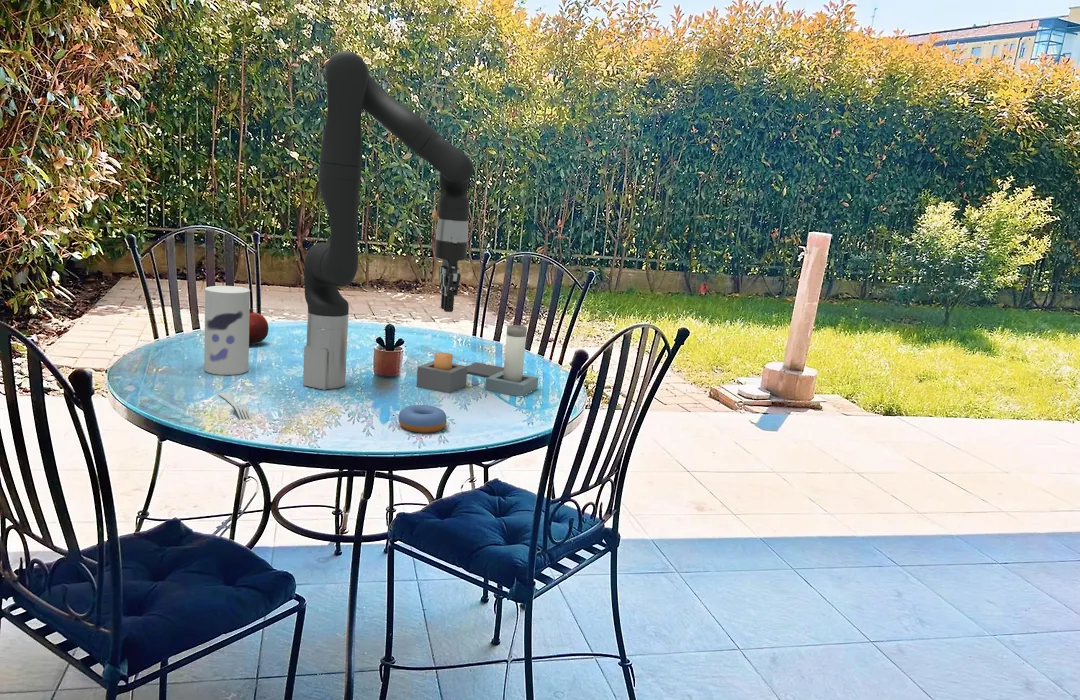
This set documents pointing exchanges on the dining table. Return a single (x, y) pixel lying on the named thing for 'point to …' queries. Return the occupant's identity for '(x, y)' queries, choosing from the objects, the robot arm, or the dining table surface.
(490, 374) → the mat
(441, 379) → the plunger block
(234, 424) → the dining table surface
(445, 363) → the plunger
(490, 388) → the housing
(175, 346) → the dining table surface
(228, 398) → the fork
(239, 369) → the container
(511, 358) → the cylinder
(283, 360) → the dining table surface
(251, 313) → the fruit
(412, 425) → the doughnut
